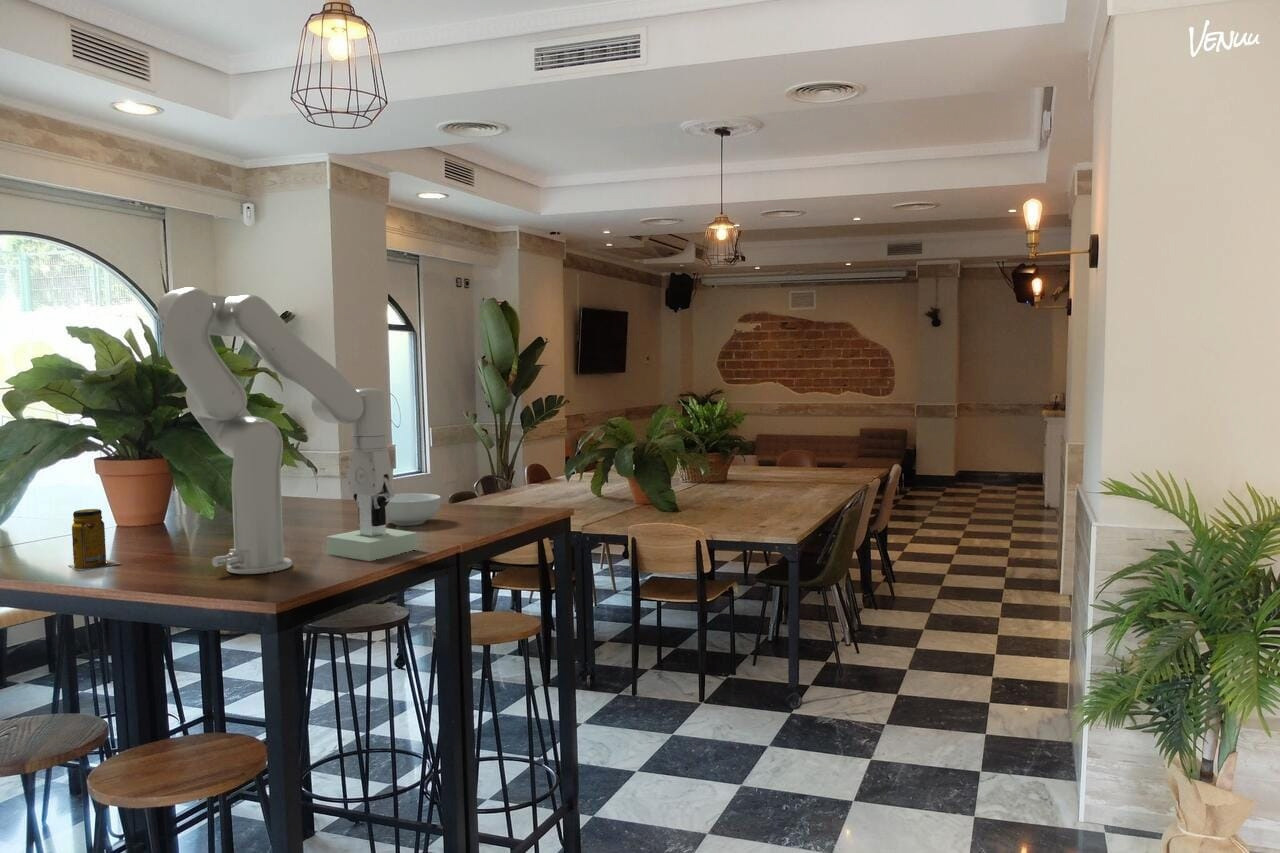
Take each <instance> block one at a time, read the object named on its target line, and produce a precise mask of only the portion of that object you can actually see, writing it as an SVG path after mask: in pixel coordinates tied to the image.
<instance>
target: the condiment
mask: <svg viewBox="0 0 1280 853" xmlns="http://www.w3.org/2000/svg"><path fill="white" fill-rule="evenodd" d="M72 517H73V523H72V524H71V535H72V554H73V555H72V556H73V564H69V565H68V566H69V567H70V568H71V569H73V570H75V571H83V570H84V571H86V570H92V569H98V568H102V567H109V566H110V567H111V566H115V565H120V564H122V562H121V563H120V562H118V561H116V560H114V559H107V554H106V553H107V550H106V532H105V530H106V529H105V527H106V526H105V522H104V521H103V520H102V519H103V515H102V510H101V509H98V508H87V509H80V510H79V509H78V510H75V511H74V512H73V514H72ZM106 562H107V563H106Z"/></svg>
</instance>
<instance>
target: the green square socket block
mask: <svg viewBox="0 0 1280 853" xmlns="http://www.w3.org/2000/svg"><path fill="white" fill-rule="evenodd" d="M418 540H419V538H418V532H415V531H409V530H408V531H407V530H401V529H394V528H387V527H386V535H382V536H377V537H372V538H369V537H362V536H360V529H358V530H353V531H349V532H343V533H338V534H332V535H327V536H326V555H329V556H336V557H340V558H341V557H342V558H348V559H354V560H358V561H359V560H360V561H366V562H370V561H371V562H372V561H376V559H377V560H380V559H384V558H389V557H393V555H394V556H397V554H398V555H401V554H400V553H403V552H407V551H411V550H415V549H418V550H419V546H418V544H419V543H418ZM411 552H412V551H411ZM407 553H408V552H407ZM403 554H404V553H403Z"/></svg>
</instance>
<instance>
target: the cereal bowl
mask: <svg viewBox="0 0 1280 853" xmlns="http://www.w3.org/2000/svg"><path fill="white" fill-rule="evenodd" d="M394 494H395V495H394V497H393V498H392V499H391V500H390V501H389V502H388V504H387V507H385V512H386V521H389V522H391V523H392V525H396V526H417V525H422V524H424V523H425V522H426V521H428V520H430V519H433V518H434V517H436V515H437V514H438V513H439V511H440V508H441V502H442V501H441V500H442V498H441V495H438V494H433V493H415V492H413V493H411V492H409V493H408V492H407V493H394Z"/></svg>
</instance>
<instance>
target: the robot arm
mask: <svg viewBox="0 0 1280 853" xmlns="http://www.w3.org/2000/svg"><path fill="white" fill-rule="evenodd" d="M157 315H158V318H159V320H160V321H161V323H162V324H163V328H162V343H163V350H164V353H165V356H166V358H167V360H168V362H169V364H170V366H171V368H172V369H173V370H174V372H175V373H176V374H177V375H178V377H179V379H180V381H181V382H182V383H183V385H184V386H185V387H186V392H185V401H186V405H187V407H188V409H189V411H190V412H191V414H192V416H194V419H195V420H196V421H197V422H198V424H199V425H200V426H201V427H202V429H203V430H204V431H205V432H206V434H207V435H208V436H209V437H210V438H211V440H212V441H213V443H214V444H215V446H217V448H219V449H220V451H221V452H223V454H224V455H226V456H228V457H229V458H231V459H232V460H233V463H232V469H231V499H232V502H231V503H232V523H233V524H232V526H233V548H229V552H228V553H227V554H226V555H220V556H219V555H218V556H215V557H214V556H213V558H212V560H211V564H212V566H214V567H221V566H224V565H226V570H227V572H229V573H230V574H237V575H258V574H269V573H275V572H279V571H283V570H286V569H289V568H290V567H292V563H293V561H292V559H291V558H289V557H284V532H283V530H284V529H283V528H284V527H283V506H282V504H283V503H282V502H283V501H282V482H281V480H282V477H281V476H282V475H281V474H282V473H281V472H282V461H283V453H284V452H283V450H284V441H283V437H282V436H283V435H282V433H281V431H280V429H279V428H278V427H277V425H276V424H274V423H273V422H272V421H270V420H269V419H267V418H263V417H259V416H253V415H252V414H251V412H250V411H249V410H248V409H247V405H248V396H247V392H246V389H245V388H244V386H243V385H242V384H241V382H240V381H239V380H238V379H237V378H236V376H235V374H233V372H232V371H231V370H230V369H229V367H228V366H227V364H225V362H224V361H223V359H222V358H221V356H220V355H219V353H218V352H217V350H216V348H215V347H214V345H213V344H212V339H211V336H222V337H241V338H242V339H243V340H244V342H246V344H248V345H249V346H250V347H251V349H252V350H254V352H256V353H257V355H259V357H260V358H261V359H262V360H263V361H264V362H265V363H266V365H268V366H269V367H270V369H271V370H273V371H274V372H275V373H277V374H278V375H279V376H280V377H283V378H285V379H287V380H289V381H291V382H292V383H295V384H297V385H299V386H301V387H302V388H303V389H305V390H306V391H307V392H309V393H310V394H311V395H312V396H313V398H312V401H311V411H312V413H313V414H314V416H315V417H317V419H319V420H320V421H322V422H325V423H329V424H340V425H342V424H343V425H350V424H351V444H352V449H350V452H349V458H348V463H347V464H348V466H347V467H348V468H347V489H348V493H349V494H350V495H351V496H352V497H353V500H355V504H356V506H357V508H358V510H357V511H358V513H359V494H360V495H370V496H373V501H374V507H375V508H374V509H373V526H375V527H376V526H381V525H385V524H386V523H387V522H386V521H387V520H386V512H385V507H387V504H388V502H389V501H390V500H391V499H392V498H393V497H394V495H395V494H396V493H395V492H394V489H393V474H392V464H391V458H390V457H391V456H390V453H389V450H388V436H387V434H388V432H387V428H388V427H387V402H386V401H387V399H386V393H385V391H384V390H383V389H381V388H377V387H376V388H375V387H374V388H373V387H372V388H370V387H369V388H367V387H366V388H355V387H354V386H353V385H352V384H351V383H350V381H349V380H348V379H347V378H346V377H345V376H344V375H343V374H342V372H340V371H339V370H338V369H337V368H335V367H334V366H333V365H332V364H331V363H330V362H328V361H327V360H326V359H325V358H323V356H321V355H320V354H319V353H318V352H316V351H315V350H314V349H312V348H311V347H310V346H308V345H307V344H306V343H305V342H304V340H302V339H301V338H300V336H298V335H297V334H296V332H295V331H294V330H293V329H292V328H291V327H290V326H289V325H288V324H287V323H286V321H284V320H283V318H282V317H281V316H280V315H279V314H278V313H277V312H276V310H274V308H272V307H271V306H270V304H269V303H268V302H267V301H266V300H264V299H263V298H261V297H260V296H257V295H255V294H244V295H243V294H242V295H237V296H233V295H231V296H229V295H217V294H209V293H208V292H207V291H205V290H204V289H202V288H198V287H196V286H195V287H193V286H192V287H190V286H187V287H183V288H178V289H174V290H171V291H168V292H167V293H165V294H164V295H163V296H162V297H161V298H160V300H159V302H158V303H157ZM378 493H381V494H378ZM380 496H381V499H380V500H379V498H378V497H380ZM358 524H359V525H360V519H359V518H358ZM386 525H387V524H386ZM274 571H275V572H274ZM268 572H269V573H268Z"/></svg>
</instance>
